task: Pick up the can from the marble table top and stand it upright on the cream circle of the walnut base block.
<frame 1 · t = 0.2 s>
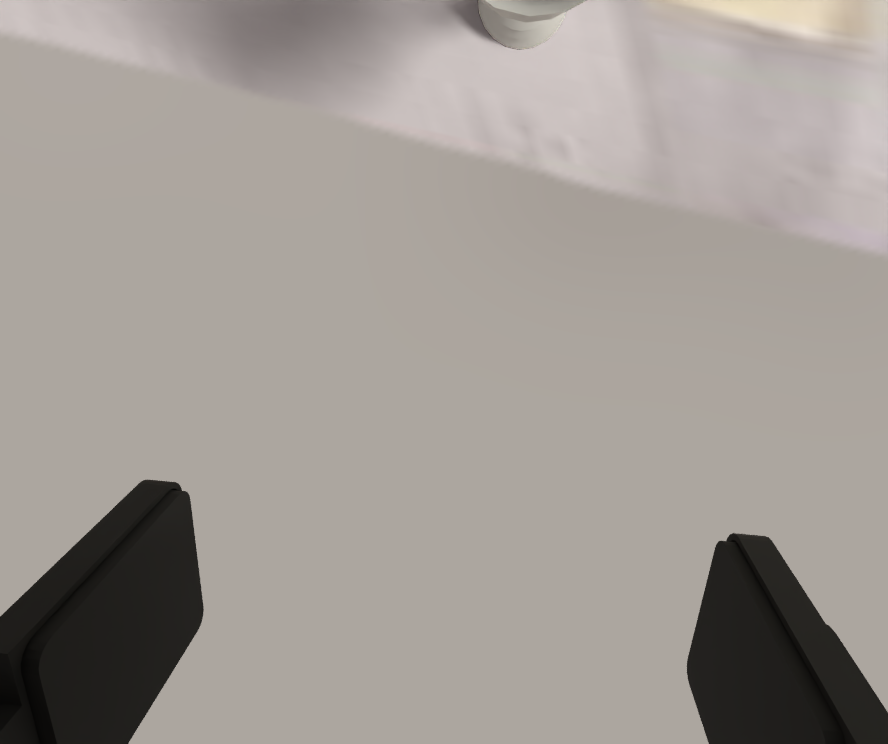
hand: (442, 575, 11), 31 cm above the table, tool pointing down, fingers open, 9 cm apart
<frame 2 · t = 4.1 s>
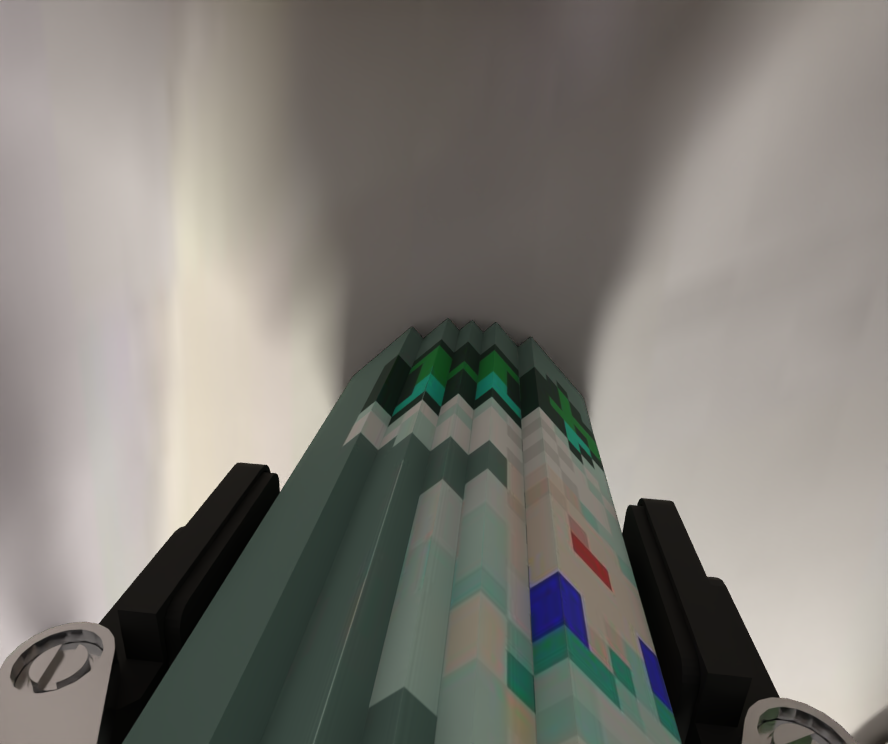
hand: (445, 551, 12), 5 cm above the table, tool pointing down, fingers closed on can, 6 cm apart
can: (463, 434, 16), on the table, touching gripper
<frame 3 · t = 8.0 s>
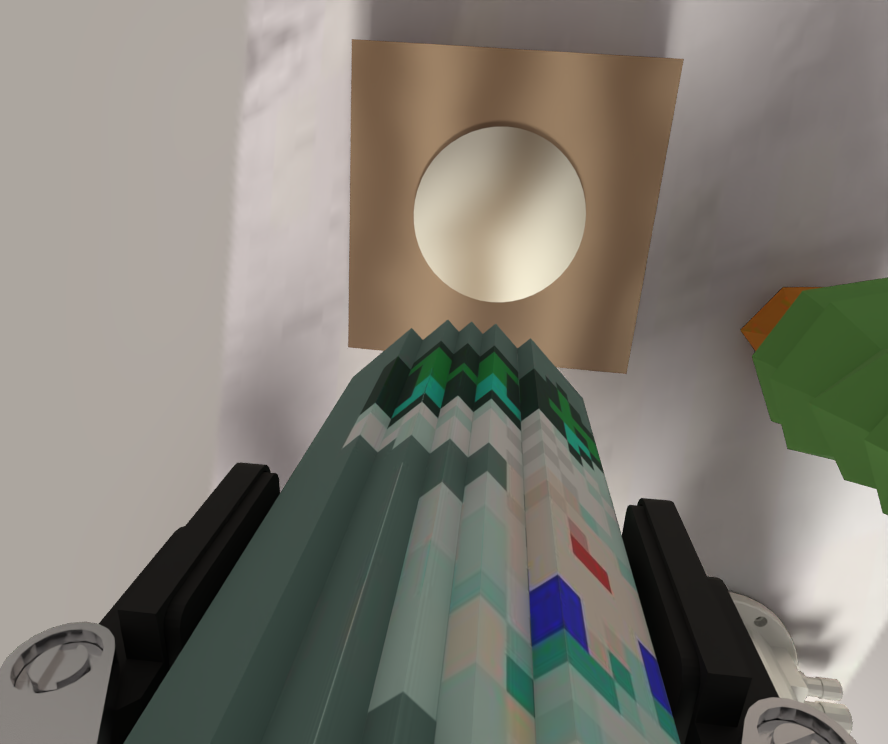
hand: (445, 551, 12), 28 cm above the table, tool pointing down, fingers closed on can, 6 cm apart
walnut base: (499, 210, 37), on the table
can: (462, 435, 16), point 23 cm above the table, touching gripper
decorative tree: (804, 336, 37), on the table
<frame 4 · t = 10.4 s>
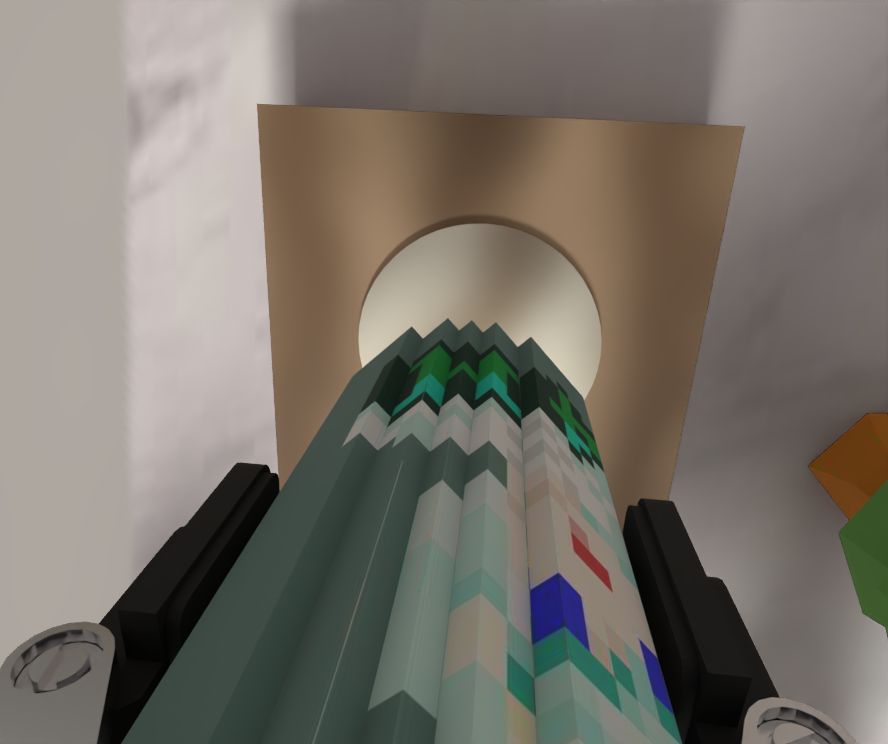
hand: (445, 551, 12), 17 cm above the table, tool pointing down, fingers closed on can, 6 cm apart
walnut base: (482, 316, 27), on the table
can: (462, 434, 16), point 12 cm above the table, touching gripper
when the fingers open (10 cm above the table, at t = 12.2 s): can drops 1 cm, resting on walnut base.
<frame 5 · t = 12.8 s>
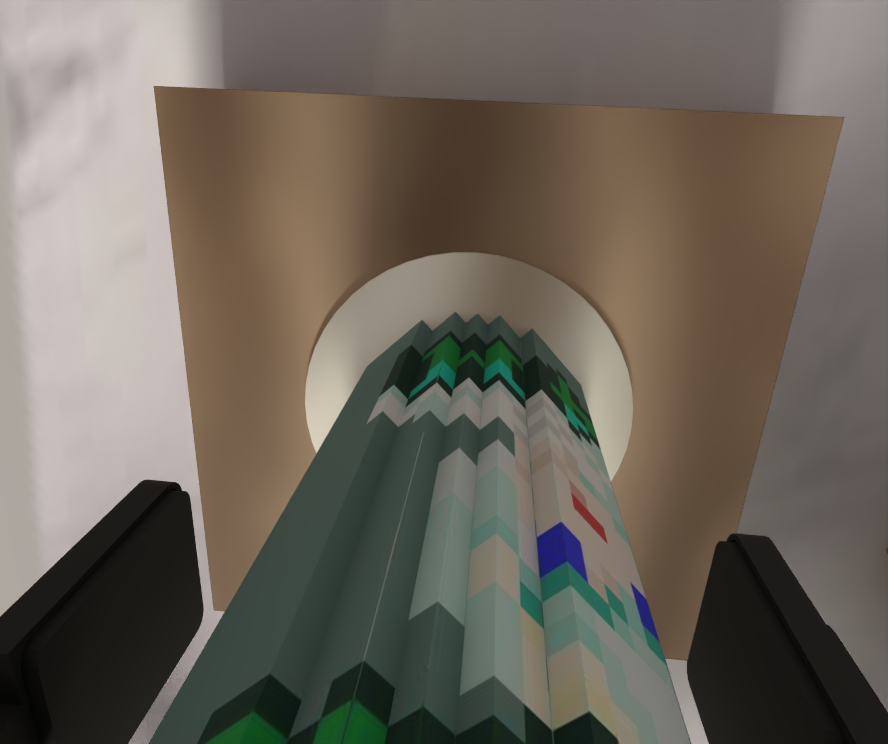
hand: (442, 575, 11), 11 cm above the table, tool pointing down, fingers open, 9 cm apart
walnut base: (472, 363, 21), on the table
can: (469, 420, 17), point 4 cm above the table, touching walnut base
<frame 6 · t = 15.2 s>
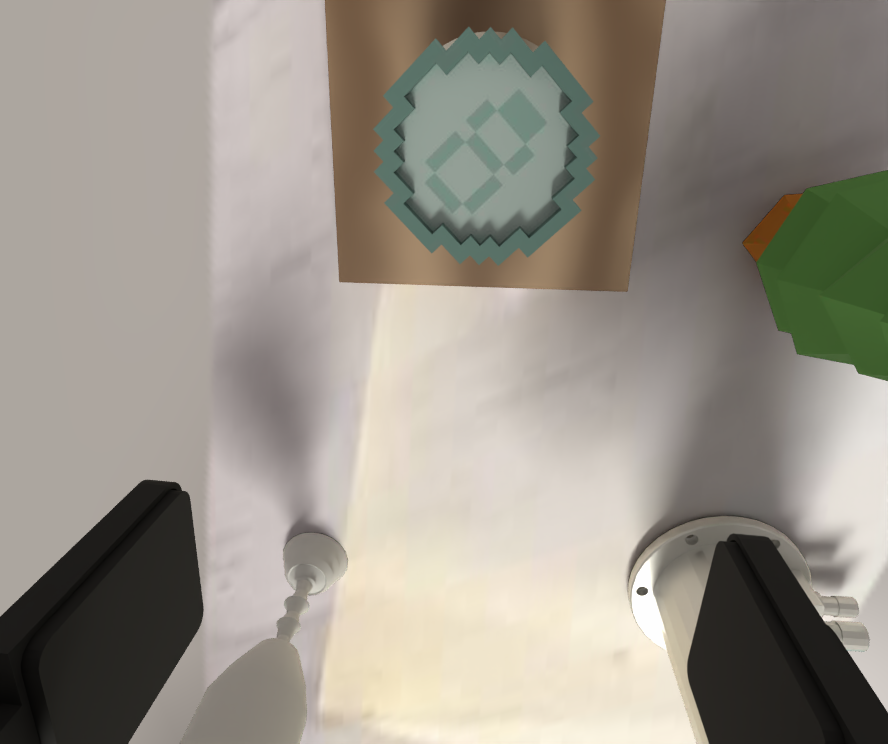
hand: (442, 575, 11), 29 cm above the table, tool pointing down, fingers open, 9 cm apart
walnut base: (488, 130, 35), on the table
chalice: (315, 557, 48), on the table
can: (489, 136, 31), point 4 cm above the table, touching walnut base
decorative tree: (808, 245, 36), on the table
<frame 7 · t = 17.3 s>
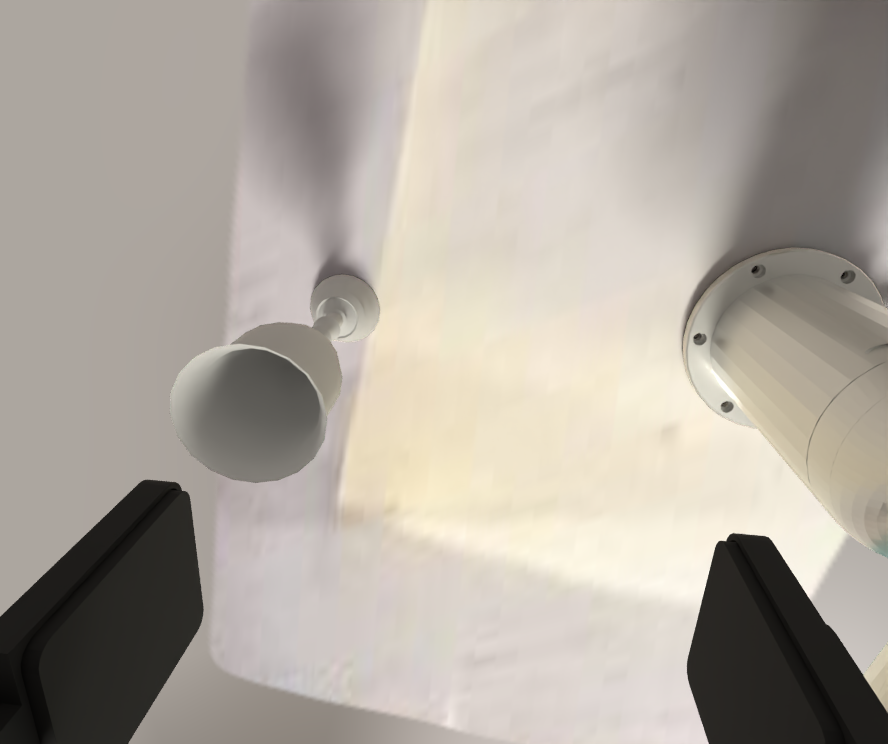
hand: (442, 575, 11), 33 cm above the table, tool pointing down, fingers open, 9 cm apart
chalice: (345, 308, 45), on the table
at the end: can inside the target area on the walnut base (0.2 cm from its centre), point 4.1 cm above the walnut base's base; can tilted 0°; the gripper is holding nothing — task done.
